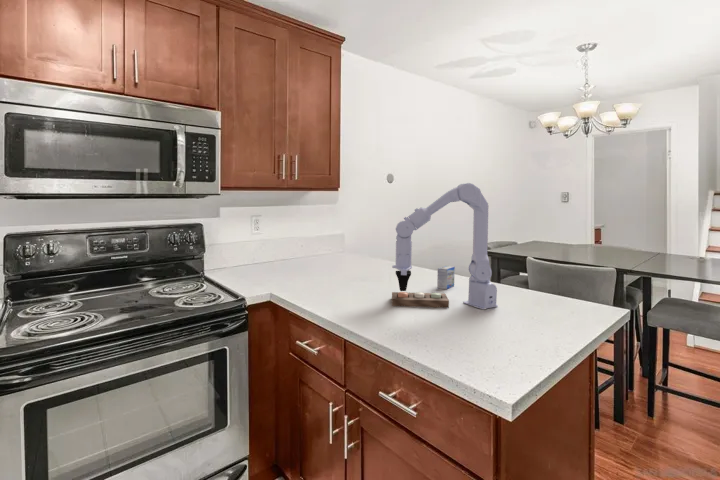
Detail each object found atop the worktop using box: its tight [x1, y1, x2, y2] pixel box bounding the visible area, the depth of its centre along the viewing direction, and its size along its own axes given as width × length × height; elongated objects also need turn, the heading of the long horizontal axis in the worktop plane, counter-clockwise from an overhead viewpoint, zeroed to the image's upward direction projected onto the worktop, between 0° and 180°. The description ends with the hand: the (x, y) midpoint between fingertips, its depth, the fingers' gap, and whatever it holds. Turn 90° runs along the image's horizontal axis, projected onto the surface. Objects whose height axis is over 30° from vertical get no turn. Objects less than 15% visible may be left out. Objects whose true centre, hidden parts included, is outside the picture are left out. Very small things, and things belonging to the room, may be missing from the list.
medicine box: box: [437, 265, 456, 290], centre depth 169 cm, size 8×4×9 cm, turn 143°
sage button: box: [430, 292, 441, 298], centre depth 144 cm, size 4×4×2 cm
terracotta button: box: [398, 291, 409, 298], centre depth 145 cm, size 4×4×2 cm
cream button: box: [413, 291, 425, 298], centre depth 144 cm, size 4×4×2 cm
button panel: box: [391, 291, 450, 309], centre depth 144 cm, size 20×10×2 cm, turn 85°
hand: (402, 290), depth 144 cm, fingers closed
